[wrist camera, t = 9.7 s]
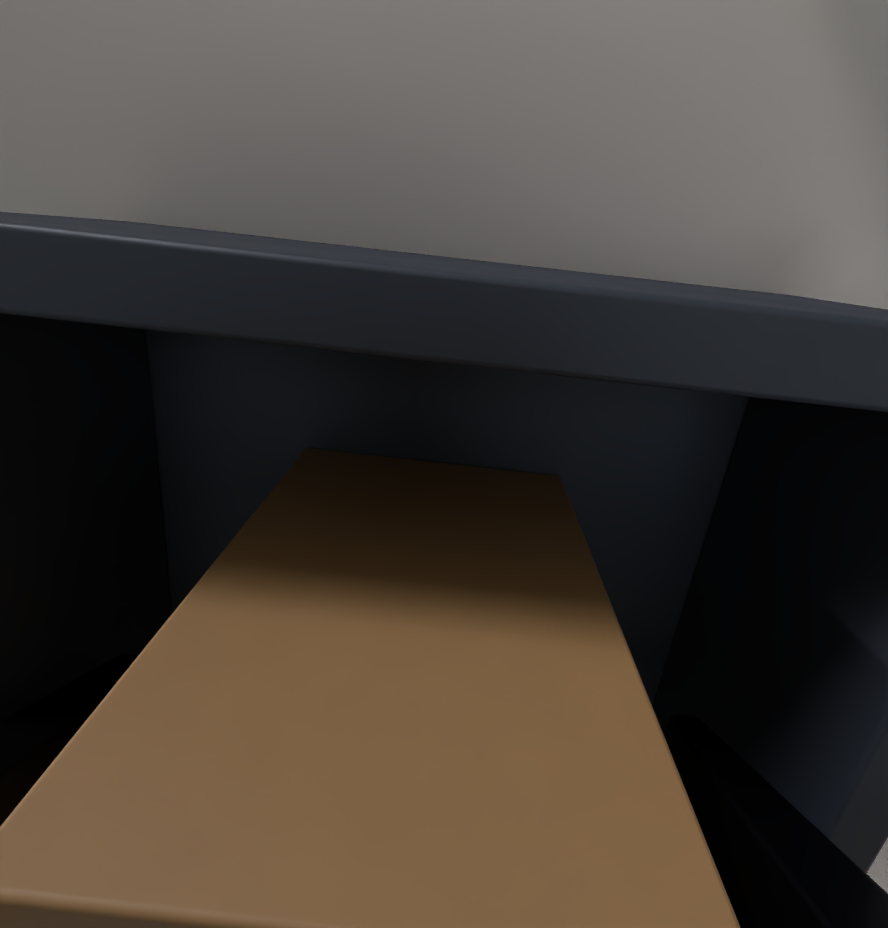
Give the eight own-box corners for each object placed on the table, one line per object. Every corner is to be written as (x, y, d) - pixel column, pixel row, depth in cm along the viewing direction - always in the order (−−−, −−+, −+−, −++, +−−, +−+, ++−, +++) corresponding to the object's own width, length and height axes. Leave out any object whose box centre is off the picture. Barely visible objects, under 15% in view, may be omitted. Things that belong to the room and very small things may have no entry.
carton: (303, 686, 13) (79, 1277, 6) (305, 446, 11) (-57, 890, 3) (515, 709, 13) (577, 1332, 6) (561, 474, 11) (768, 984, 3)
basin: (177, 754, 15) (11, 1044, 10) (124, 220, 10) (-279, 189, 5) (630, 804, 15) (723, 1124, 10) (795, 295, 10) (1178, 352, 5)
